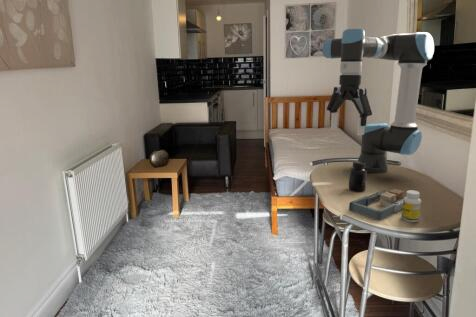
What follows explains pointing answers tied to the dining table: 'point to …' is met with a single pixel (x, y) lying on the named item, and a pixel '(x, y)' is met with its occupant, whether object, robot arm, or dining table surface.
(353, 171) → the supplement bottle
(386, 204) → the beige cube
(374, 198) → the slot rails
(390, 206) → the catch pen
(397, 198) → the brown cube
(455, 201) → the dining table surface
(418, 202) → the supplement bottle
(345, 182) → the dining table surface
